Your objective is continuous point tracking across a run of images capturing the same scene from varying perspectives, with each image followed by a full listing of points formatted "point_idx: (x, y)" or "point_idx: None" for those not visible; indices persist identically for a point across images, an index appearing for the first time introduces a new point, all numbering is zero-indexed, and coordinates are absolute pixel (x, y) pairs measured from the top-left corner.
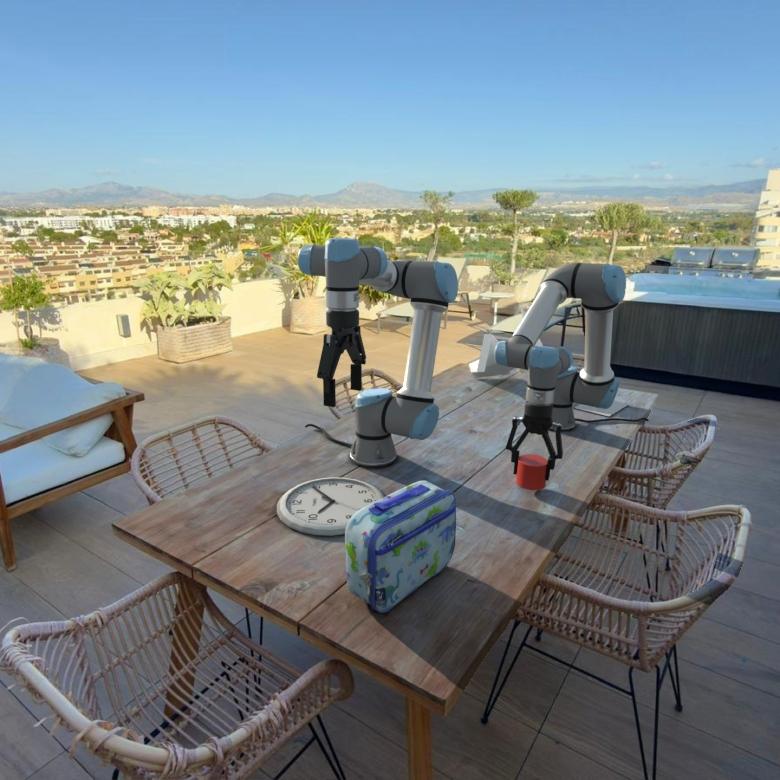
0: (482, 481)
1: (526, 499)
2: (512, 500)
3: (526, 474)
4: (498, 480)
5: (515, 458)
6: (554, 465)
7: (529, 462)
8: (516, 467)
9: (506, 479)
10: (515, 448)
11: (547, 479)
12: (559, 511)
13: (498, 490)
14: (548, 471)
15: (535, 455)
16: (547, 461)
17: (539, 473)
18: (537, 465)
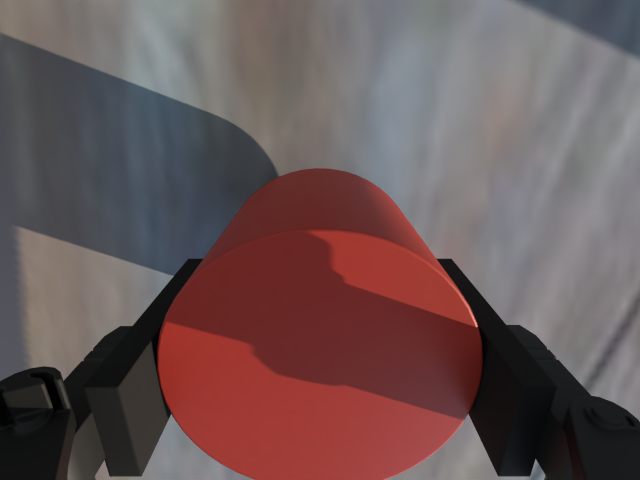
0: (603, 220)
1: (315, 100)
2: (401, 40)
3: (349, 197)
4: (505, 270)
5: (514, 342)
6: (85, 357)
7: (346, 310)
8: None
9: None
10: (619, 463)
11: (191, 262)
12: (86, 25)
13: (501, 144)
14: (163, 298)
15: (314, 476)
16: (171, 404)
17: (230, 231)
18: (243, 272)
